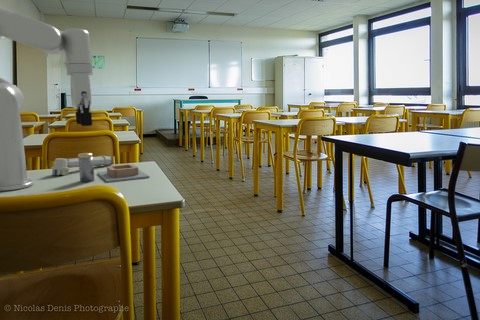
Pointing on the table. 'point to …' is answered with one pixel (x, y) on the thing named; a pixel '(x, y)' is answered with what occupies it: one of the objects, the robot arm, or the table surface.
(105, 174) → the socket block
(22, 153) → the robot arm
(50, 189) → the table surface
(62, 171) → the white long slender part
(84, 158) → the grey and brass cylinder
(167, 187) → the table surface
